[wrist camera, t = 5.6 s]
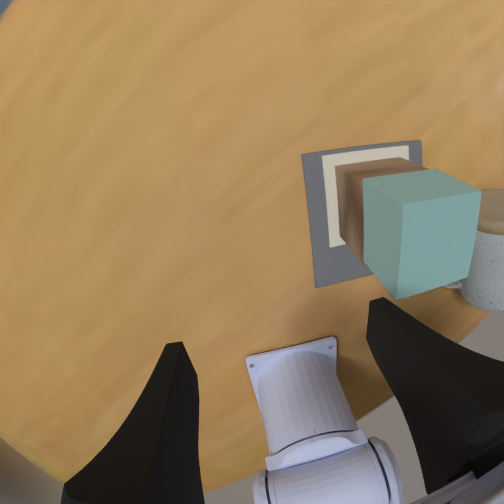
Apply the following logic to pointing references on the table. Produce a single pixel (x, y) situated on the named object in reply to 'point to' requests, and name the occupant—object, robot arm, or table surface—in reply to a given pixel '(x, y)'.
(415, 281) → the teal block
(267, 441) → the robot arm
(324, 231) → the mat
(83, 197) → the table surface
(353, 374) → the table surface
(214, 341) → the table surface
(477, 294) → the ceramic mug
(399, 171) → the walnut block
